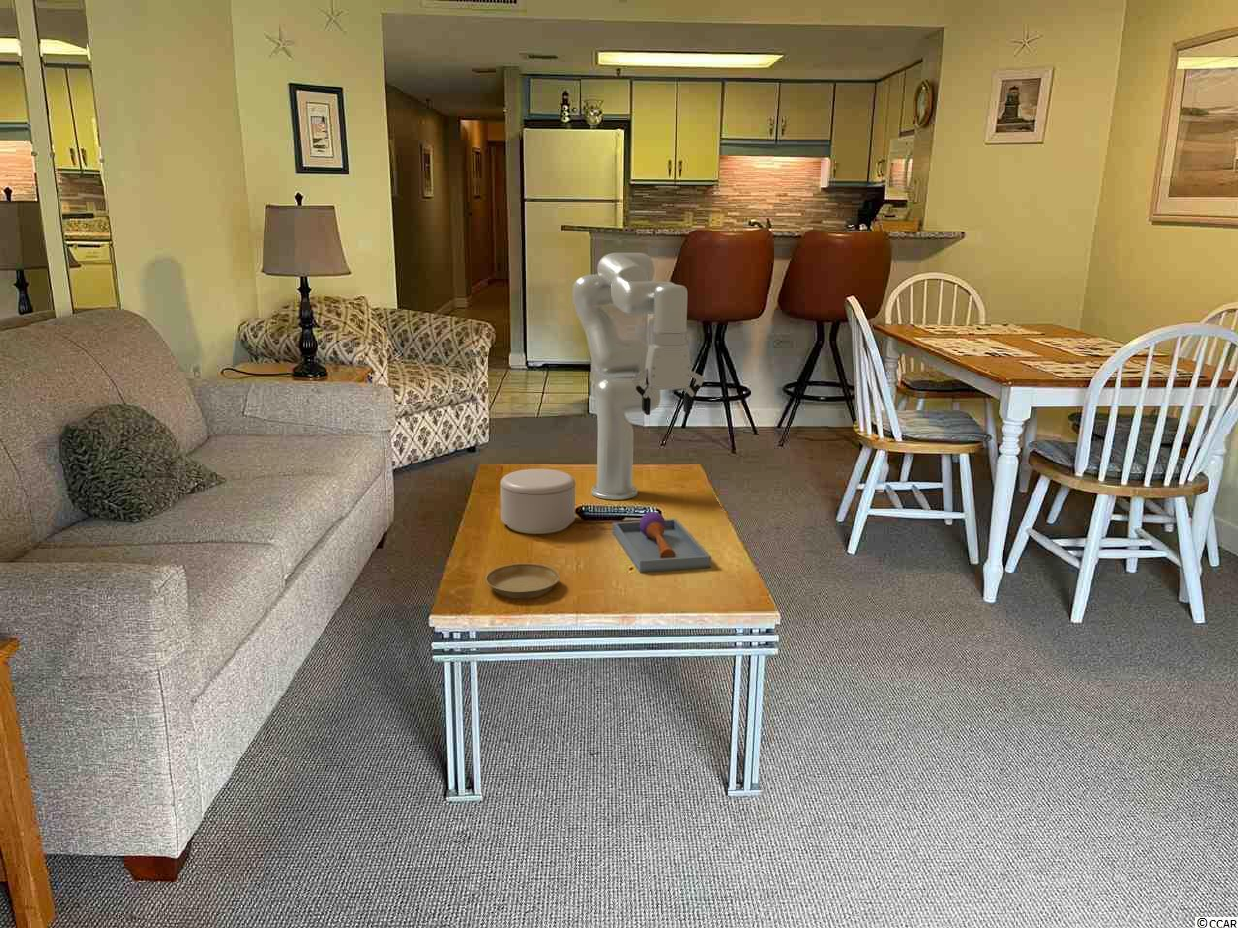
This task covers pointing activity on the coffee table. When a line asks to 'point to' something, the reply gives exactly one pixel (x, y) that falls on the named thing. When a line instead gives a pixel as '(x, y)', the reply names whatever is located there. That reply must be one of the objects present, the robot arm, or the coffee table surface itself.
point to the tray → (647, 552)
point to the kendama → (656, 532)
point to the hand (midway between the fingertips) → (666, 413)
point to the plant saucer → (522, 580)
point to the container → (537, 500)
